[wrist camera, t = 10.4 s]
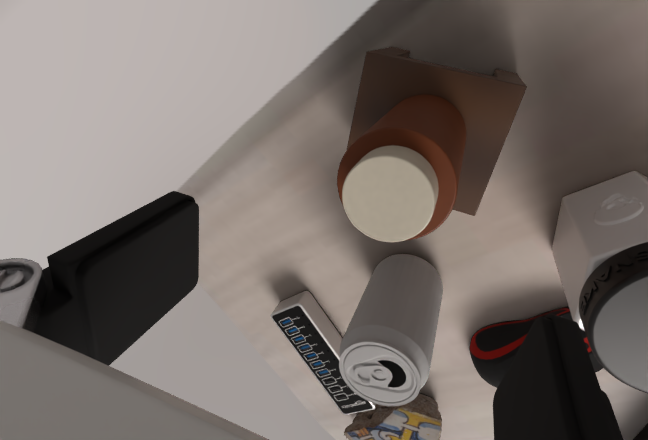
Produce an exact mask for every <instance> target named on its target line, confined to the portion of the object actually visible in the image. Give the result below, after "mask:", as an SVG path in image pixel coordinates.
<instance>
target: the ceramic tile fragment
mask: <svg viewBox="0 0 648 440" xmlns="http://www.w3.org/2000/svg"><path fill="white" fill-rule="evenodd" d="M441 426H442V419H441V415H440V412H439V411H438V404H437V402H436V401H435V400H434V399H432V398H430V397H428V396H425V395H423V394H419V393H418V395H417V397H416V398H415V399H414V400H412V401H411V402H409V403H407V404H405V405H401V406H383V405H378V404H376V406H375V409H373V410H368V411H363V412H359V413H358V415H357V416H356V417H355V418H354V420H353V423H352V424H351V425H349V426H348V427H347V428H346V429H345V432H344V435H346V437H347V438H348V439H349V440H439V438H440V432H441Z"/></svg>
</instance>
